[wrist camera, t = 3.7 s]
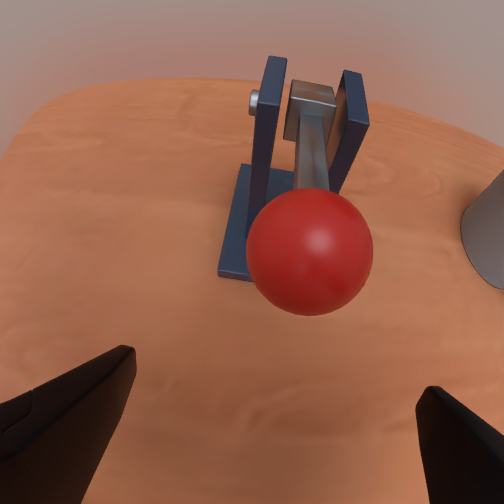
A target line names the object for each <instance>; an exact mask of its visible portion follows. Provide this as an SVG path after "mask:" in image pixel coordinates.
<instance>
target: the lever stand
mask: <svg viewBox="0 0 504 504" xmlns="http://www.w3.org/2000/svg"><path fill="white" fill-rule="evenodd" d="M286 65H287V58H282V57H276V56H269V57H268V61H267V64H266V68H265V72H264V76H263V80H262V84H261V88H260V90H252V92H251V97H250V102H249V115H251V116H255V127H254V139H253V150H252V161H251V165H249V164H241V167H240V171H239V175H238V180H237V184H236V188H235V193H234V197H233V202H232V206H231V210H230V215H229V219H228V224H227V228H226V233H225V237H224V242H223V246H222V251H221V256H220V260H219V265H218V276H221V277H226V278H232V279H238V280H244V281H250V282H253V280H252V278H251V275H250V273H249V269H248V265H247V260H246V244H247V238H248V234H249V231H250V228H251V226H252V224H253V222H254V220H255V218H256V217H257V215H258V214H259V212H260V211H261V210H262V209H263V208H264V207H265V206H266V205H267V204H268V203H269V202H270V201H271V200H273V199H274V198H276V197H277V196H279V195H281V194H283V193H285V192H288V191H291V190H293V184H294V172H291V171H286V170H280V169H274V168H270V166H271V159H272V153H273V147H274V141H275V135H276V128H277V122H278V116H279V110H280V103H281V97H282V91H283V84H284V78H285V72H286ZM335 100H336V105H337V109H336V113H335V117H334V121H333V124H332V128H331V132H330V136H329V140H328V143H327V147H326V155H327V166H328V178H329V191H332V192H334V193H336V194H338V193H339V191H340V189H341V187H342V185H343V183H344V181H345V178H346V176H347V174H348V172H349V170H350V168H351V165H352V163H353V161H354V159H355V157H356V154H357V152H358V150H359V148H360V145H361V143H362V141H363V139H364V136H365V134H366V132H367V130H368V127H369V125H370V123H369V116H368V110H367V103H366V97H365V91H364V86H363V81H362V75H361V74H360V73H356V72H352V71H348V70H344V71H343V74H342V78H341V81H340V84H339V88H338V91H337V94H336V97H335Z"/></svg>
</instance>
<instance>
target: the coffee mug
mask: <svg viewBox="0 0 504 504" xmlns="http://www.w3.org/2000/svg"><path fill="white" fill-rule="evenodd" d="M461 236H462V241H463V245H464V248H465V250H466V253H467V255H468V257H469V259H470V261H471V263H472V265H473V266H474V268H475V269H476V271H477V272H478V273H479V274H480V276H481V277H482V278H483V279H484V280H485V281H487V282H488V283H489V284H491V285H493V286H494V287H496V288H500V289H504V170H503V171H502V172H501V173H500V174H499V175H498V176H497V177H496V179H495V180H494V181H493V182H492V183H491V184H490V185H489V186H488V187H487V188H486V189H485V190H484V191H483V193H482V194H481V195H480V196H479V197H478V198H477V199H476V200H475V201H474V202H473V203H472V204H471V205H470V206H469V207H468V208H467V209H466V210H465V212H464V213H463V216H462V219H461Z"/></svg>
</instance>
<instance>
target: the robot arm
mask: <svg viewBox="0 0 504 504" xmlns="http://www.w3.org/2000/svg"><path fill="white" fill-rule="evenodd" d="M136 372H137V366H136V352H135V349H134V348H133V347H130V346H126V345H119V346H117V347H116V348H114V349H112V350H110V351H108V352H106V353H104V354H102V355H100V356H98V357H96V358H94V359H92V360H90V361H88V362H86V363H84V364H82V365H80V366H78V367H76V368H74V369H72V370H70V371H68V372H66V373H64V374H62V375H60V376H58V377H56V378H54V379H52V380H50V381H48V382H46V383H44V384H42V385H40V386H38V387H36V388H34V389H33V391H32V390H30V391H28V392H26V393H24V394H22V395H20V396H18V397H15V398H13V399H11V400H9V401H6V402H4V403H1V404H0V504H81V502H82V500H83V498H84V495H85V493H86V491H87V489H88V486H89V484H90V482H91V480H92V478H93V476H94V473H95V471H96V469H97V467H98V465H99V463H100V461H101V458H102V456H103V454H104V452H105V450H106V448H107V446H108V444H109V442H110V439H111V437H112V435H113V433H114V431H115V429H116V427H117V425H118V423H119V421H120V419H121V416H122V414H123V411H124V408H125V405H126V402H127V399H128V396H129V393H130V390H131V388H132V385H133V382H134V379H135V376H136ZM415 412H416V420H417V428H418V437H419V446H420V452H421V457H422V462H423V468H424V473H425V478H426V484H427V490H428V496H429V502H430V504H504V435H502V434H501V433H500V432H498V431H497V430H496V429H494V428H493V427H492V426H491V425H489V424H488V423H487V422H485V421H484V420H483V419H481V418H480V417H479V416H477V415H476V414H475V413H474V412H472V411H471V410H470V409H468V408H467V407H466V406H464V405H463V404H462V403H460V402H459V401H458V400H457V399H455V398H454V397H453V396H451V395H450V394H449V393H447V392H446V391H445V390H443V389H442V388H441V387H439V386H428V387H427V388H426V389H425V390H424V392H423V394H422V396H421V397H420V399H419V401H418V402H417V404H416V409H415Z"/></svg>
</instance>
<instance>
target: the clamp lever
mask: <svg viewBox="0 0 504 504" xmlns="http://www.w3.org/2000/svg"><path fill="white" fill-rule="evenodd" d="M336 109H337V105H336V100H335V96H334V92H333V89H332V87H330V86H324V85H320V84H315V83H310V82H305V81H299V80H294V79H293V80H292V82H291V88H290V94H289V100H288V106H287V112H286V118H285V126H284V135H283V139H284V140H288V141H294V142H296V149H295V167H294V184H293V190H291V191H288V192H285V193H283V194H281V195H279V196H277V197H276V198H274V199H273V200H271V201H270V202H269V203H268V204H267V205H266V206H265V207H264V208H263V209H262V210H261V211H260V212H259V214H258V215H257V217H256V218H255V220H254V222H253V224H252V226H251V228H250V231H249V234H248V238H247V244H246V260H247V265H248V269H249V273H250V275H251V278H252V280H253V282H254V284H255V285H256V287H257V288H258V290H259V291H260V292H261V294H262V295H263V296H264V297H265V298H266V299H267V300H268V301H270V302H271V303H272V304H273V305H275V306H277V307H278V308H280V309H282V310H284V311H287V312H290V313H293V314H297V315H303V316H316V315H322V314H327V313H330V312H333V311H335V310H337V309H339V308H341V307H343V306H344V305H346V304H347V303H348V302H350V301H351V300H352V299H353V298H354V297H355V296H356V295H357V294H358V293H359V291H360V290H361V289H362V287H363V286H364V284H365V282H366V280H367V278H368V276H369V273H370V270H371V266H372V261H373V242H372V237H371V233H370V230H369V228H368V225H367V223H366V221H365V219H364V218H363V216H362V215H361V213H360V212H359V211H358V210H357V208H356V207H355V206H354V205H353V204H351V203H350V202H349V201H348V200H347V199H345V198H344V197H342V196H340V195H338V194H336V193H334V192H332V191H329V178H328V166H327V155H326V147H327V143H328V140H329V136H330V132H331V128H332V124H333V121H334V117H335V113H336Z"/></svg>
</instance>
